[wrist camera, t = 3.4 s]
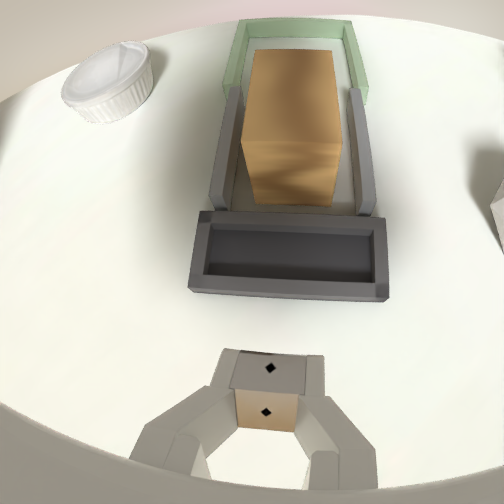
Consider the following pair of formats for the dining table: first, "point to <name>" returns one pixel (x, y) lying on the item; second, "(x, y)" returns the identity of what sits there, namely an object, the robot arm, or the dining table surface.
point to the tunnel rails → (231, 140)
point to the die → (499, 211)
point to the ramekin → (110, 83)
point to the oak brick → (292, 127)
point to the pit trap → (291, 256)
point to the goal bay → (295, 29)
